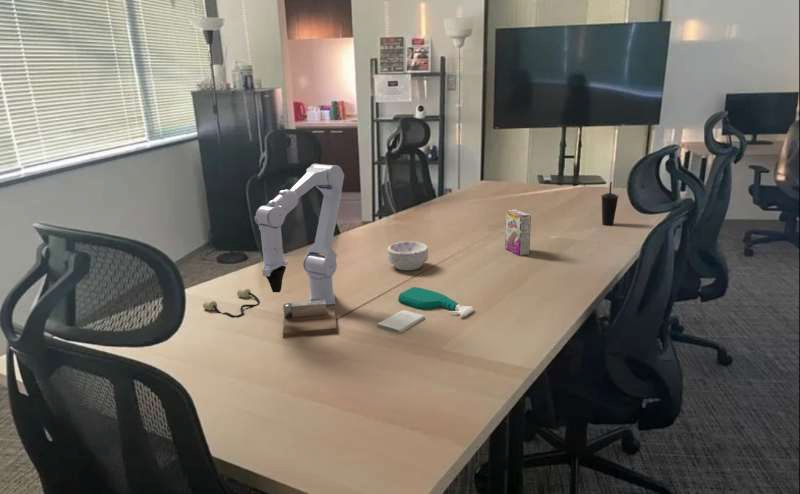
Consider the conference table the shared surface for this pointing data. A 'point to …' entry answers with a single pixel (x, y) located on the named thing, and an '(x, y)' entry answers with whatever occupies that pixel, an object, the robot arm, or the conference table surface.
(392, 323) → the external hard drive
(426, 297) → the spray bottle
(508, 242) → the candy bar box
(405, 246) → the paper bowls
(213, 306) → the cable
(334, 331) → the stool seat
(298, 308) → the folding leg
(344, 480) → the conference table surface
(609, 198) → the drinking cup
